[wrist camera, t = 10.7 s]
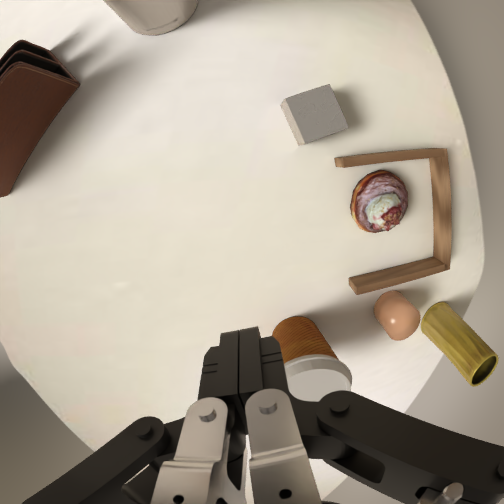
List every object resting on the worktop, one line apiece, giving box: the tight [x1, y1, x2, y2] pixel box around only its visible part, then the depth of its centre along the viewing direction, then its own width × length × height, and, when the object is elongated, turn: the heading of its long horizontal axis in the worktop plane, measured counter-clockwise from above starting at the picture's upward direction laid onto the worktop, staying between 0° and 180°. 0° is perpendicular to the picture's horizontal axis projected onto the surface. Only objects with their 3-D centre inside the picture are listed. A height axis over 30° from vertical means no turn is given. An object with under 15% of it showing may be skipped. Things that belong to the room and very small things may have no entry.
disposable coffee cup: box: [272, 316, 352, 401], centre depth 33 cm, size 10×10×12 cm
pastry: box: [350, 170, 408, 233], centre depth 31 cm, size 8×8×5 cm
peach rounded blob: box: [374, 291, 420, 340], centre depth 35 cm, size 5×5×5 cm
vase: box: [421, 302, 498, 386], centre depth 32 cm, size 6×6×14 cm
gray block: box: [280, 84, 349, 145], centre depth 28 cm, size 5×5×4 cm
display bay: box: [334, 148, 451, 295], centre depth 32 cm, size 16×14×3 cm
